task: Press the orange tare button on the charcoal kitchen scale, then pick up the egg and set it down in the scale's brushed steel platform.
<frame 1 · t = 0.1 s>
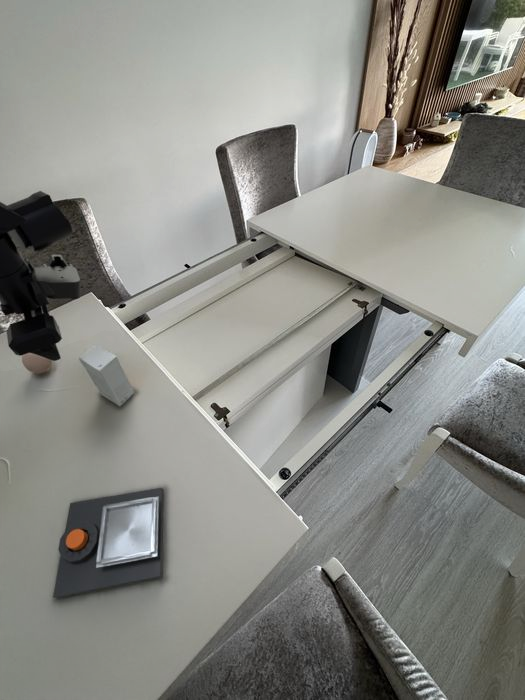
hand: (53, 341, 60), 17 cm above the table, tool pointing down, fingers open, 9 cm apart
brushed steel platform: (129, 530, 53), resting on scale
cosmetic box: (118, 393, 73), on the table
scale: (115, 539, 55), on the table
tare button: (77, 539, 52), point 3 cm above the table, slide at 0.1 cm
egg: (44, 370, 77), on the table
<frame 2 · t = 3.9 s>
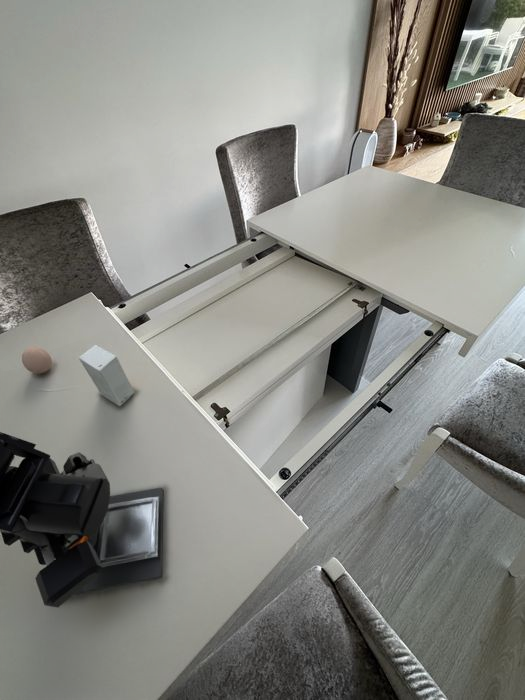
hand: (76, 538, 52), 4 cm above the table, tool pointing down, fingers closed, pressing on tare button
tare button: (78, 540, 52), point 3 cm above the table, slide at -0.2 cm, touching gripper
everything else where it was.
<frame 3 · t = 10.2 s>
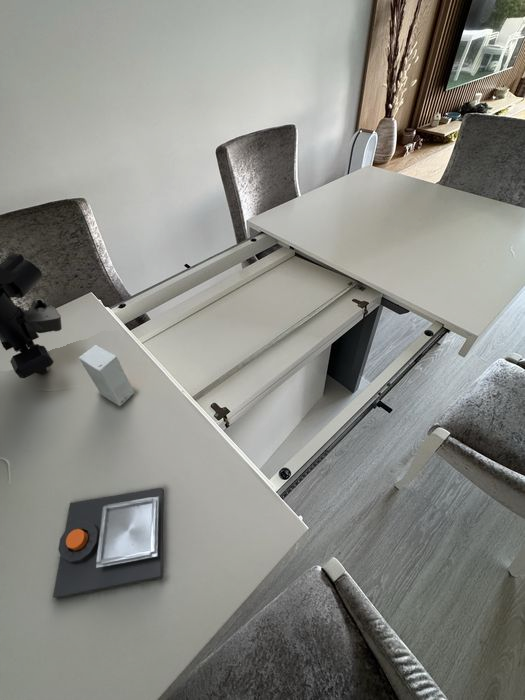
hand: (41, 366, 76), 1 cm above the table, tool pointing down, fingers closed on egg, 5 cm apart
tare button: (77, 539, 52), point 3 cm above the table, slide at 0.1 cm
egg: (44, 370, 77), on the table, touching gripper
everything else where it was.
when the fingers open (5 cm above the table, at t = 17.0 s): egg stays where it is, resting on brushed steel platform.
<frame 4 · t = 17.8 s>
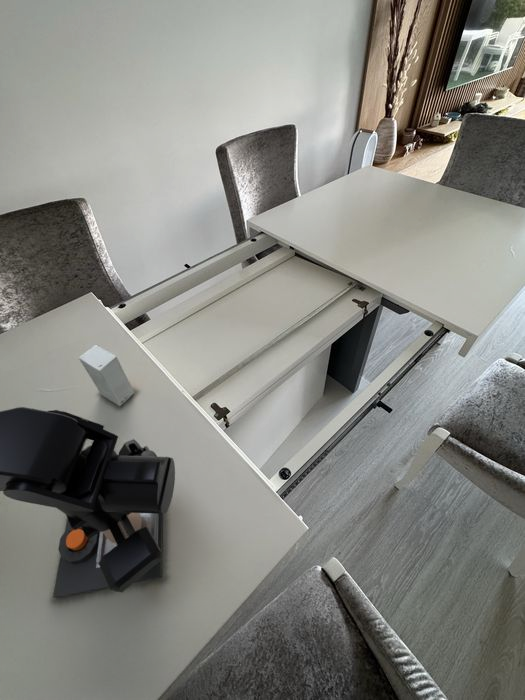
hand: (125, 526, 52), 5 cm above the table, tool pointing down, fingers open, 9 cm apart
egg: (129, 529, 53), point 3 cm above the table, touching brushed steel platform
everything else where it was.
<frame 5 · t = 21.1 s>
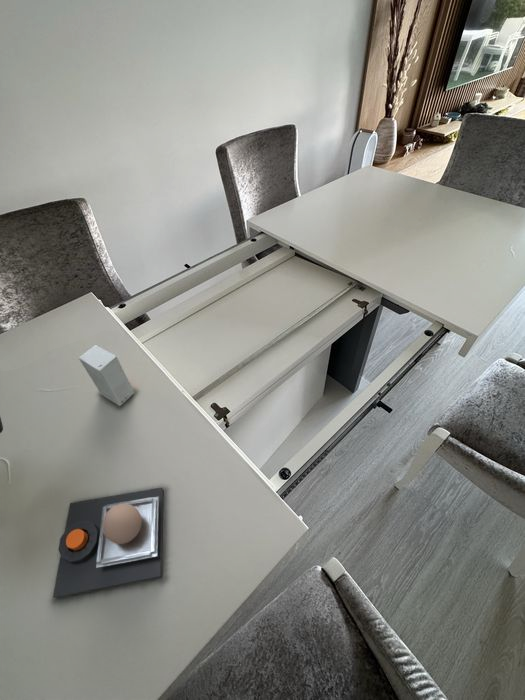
nothing on the table moved.
at the end: tare button pushed in 0.9 cm at the most during the clip, back to where it started at the end; egg 0.1 cm off-centre on the brushed steel platform, point 0.2 cm above the brushed steel platform's base; the gripper is holding nothing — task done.
